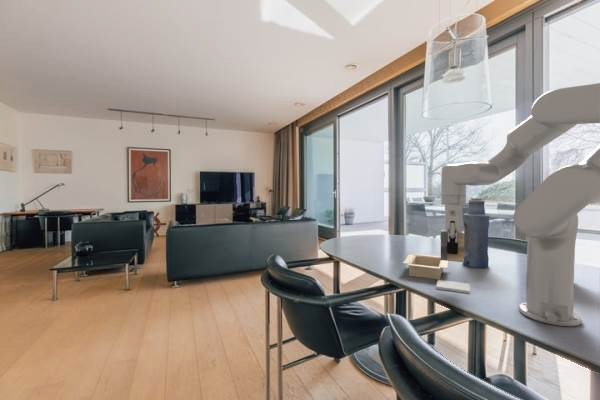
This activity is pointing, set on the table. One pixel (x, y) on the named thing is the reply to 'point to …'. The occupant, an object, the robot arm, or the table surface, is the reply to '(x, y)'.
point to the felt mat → (453, 286)
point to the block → (444, 240)
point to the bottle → (476, 234)
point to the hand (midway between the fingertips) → (452, 251)
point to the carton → (425, 266)
